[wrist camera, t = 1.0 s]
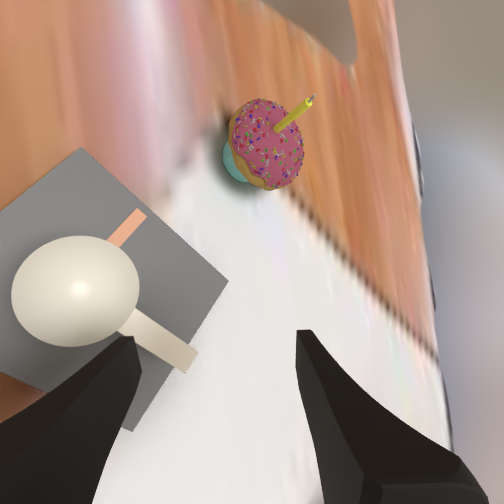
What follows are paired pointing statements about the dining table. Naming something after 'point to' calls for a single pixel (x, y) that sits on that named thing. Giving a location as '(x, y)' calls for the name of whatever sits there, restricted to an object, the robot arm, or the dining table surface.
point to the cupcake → (265, 144)
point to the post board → (129, 241)
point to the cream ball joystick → (88, 299)
